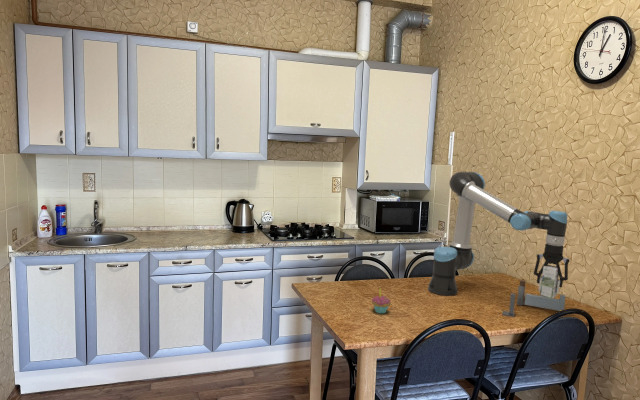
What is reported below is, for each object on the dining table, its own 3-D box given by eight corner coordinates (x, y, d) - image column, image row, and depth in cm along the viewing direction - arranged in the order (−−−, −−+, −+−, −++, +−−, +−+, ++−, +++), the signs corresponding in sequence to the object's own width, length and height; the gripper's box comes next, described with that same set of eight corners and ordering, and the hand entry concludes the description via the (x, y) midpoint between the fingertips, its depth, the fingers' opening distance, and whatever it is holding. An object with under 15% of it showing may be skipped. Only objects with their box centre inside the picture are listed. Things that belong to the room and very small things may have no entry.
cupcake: (385, 316, 189) (387, 290, 188) (367, 312, 194) (369, 286, 193) (392, 311, 197) (394, 285, 195) (375, 306, 201) (377, 282, 200)
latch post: (502, 314, 199) (504, 293, 198) (503, 311, 203) (504, 291, 202) (513, 317, 196) (515, 296, 195) (514, 313, 201) (516, 293, 200)
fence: (517, 303, 217) (519, 285, 216) (518, 296, 228) (520, 279, 227) (523, 304, 216) (524, 286, 215) (524, 297, 227) (525, 280, 226)
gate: (516, 304, 213) (518, 287, 213) (516, 302, 216) (518, 285, 215) (563, 313, 204) (565, 294, 203) (563, 311, 207) (565, 293, 206)
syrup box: (556, 296, 202) (560, 266, 200) (552, 299, 198) (556, 268, 196) (543, 293, 206) (547, 263, 204) (539, 295, 202) (543, 265, 200)
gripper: (530, 242, 200) (524, 289, 203) (579, 249, 191) (572, 298, 194) (531, 239, 207) (525, 285, 210) (578, 246, 198) (571, 294, 201)
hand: (548, 291), depth 202 cm, fingers closed on syrup box, 7 cm apart
